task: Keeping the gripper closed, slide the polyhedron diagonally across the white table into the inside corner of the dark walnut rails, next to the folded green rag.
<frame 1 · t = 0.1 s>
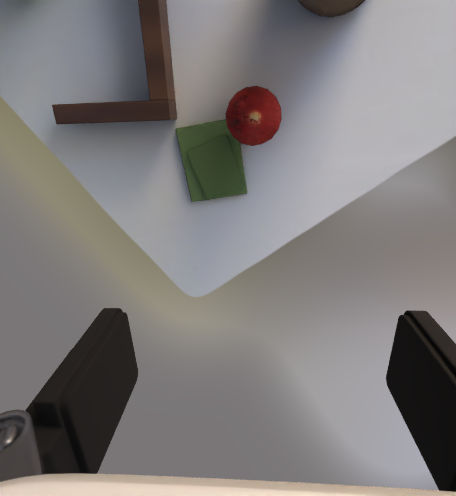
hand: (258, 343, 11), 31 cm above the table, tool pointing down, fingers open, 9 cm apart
corner stop: (116, 43, 35), on the table
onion: (253, 116, 37), on the table
green rag: (212, 161, 39), on the table
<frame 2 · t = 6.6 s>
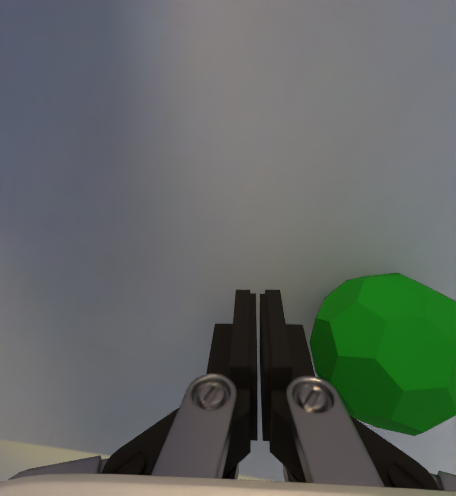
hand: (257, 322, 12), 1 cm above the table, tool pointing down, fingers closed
polyhedron: (362, 304, 13), on the table, touching gripper
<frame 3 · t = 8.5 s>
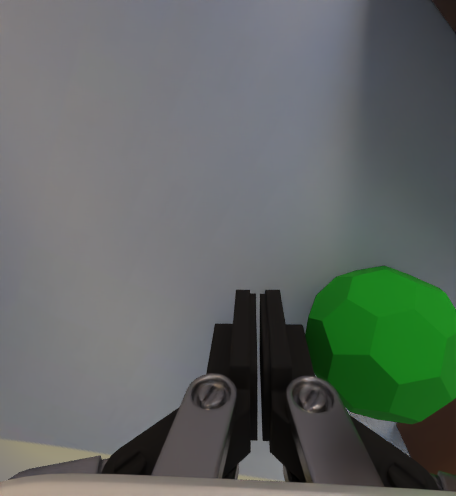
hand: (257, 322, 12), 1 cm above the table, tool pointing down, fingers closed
corner stop: (453, 257, 12), on the table
polyhedron: (353, 298, 13), on the table, touching gripper
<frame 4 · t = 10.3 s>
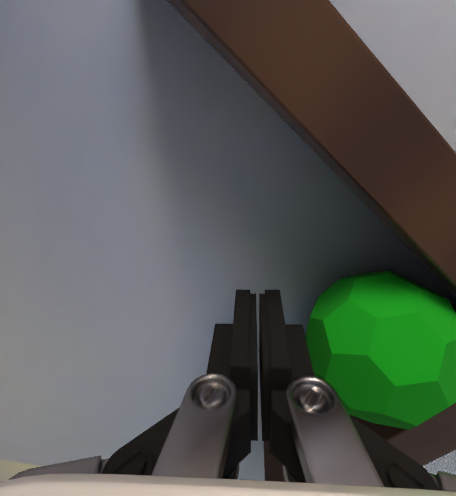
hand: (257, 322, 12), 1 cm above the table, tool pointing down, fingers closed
corner stop: (277, 269, 13), on the table
polyhedron: (356, 302, 13), on the table, touching corner stop, gripper
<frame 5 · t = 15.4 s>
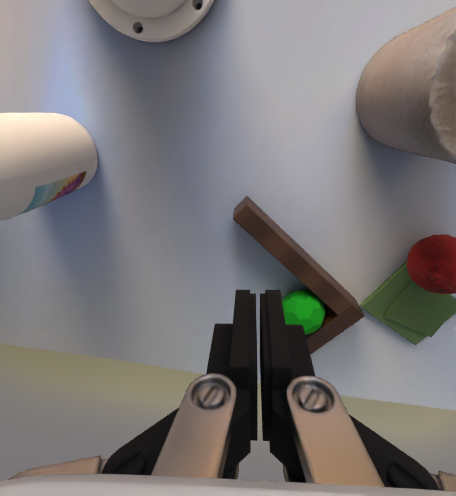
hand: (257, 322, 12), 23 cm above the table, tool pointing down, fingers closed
corner stop: (271, 288, 38), on the table
pillar candle: (407, 93, 29), on the table
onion: (421, 248, 35), on the table
polyhedron: (299, 299, 38), on the table
milk bottle: (65, 152, 33), on the table
green rag: (409, 304, 37), on the table
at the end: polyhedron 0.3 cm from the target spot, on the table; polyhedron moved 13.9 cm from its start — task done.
